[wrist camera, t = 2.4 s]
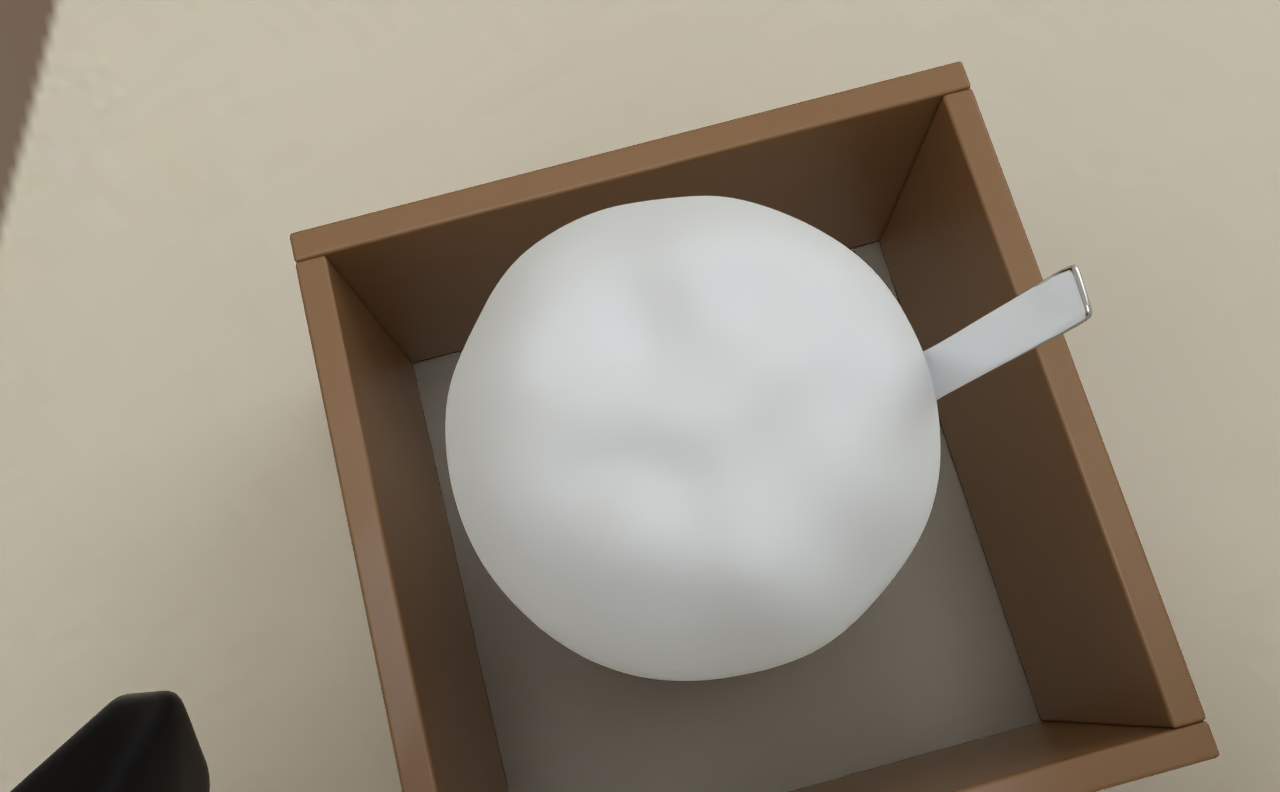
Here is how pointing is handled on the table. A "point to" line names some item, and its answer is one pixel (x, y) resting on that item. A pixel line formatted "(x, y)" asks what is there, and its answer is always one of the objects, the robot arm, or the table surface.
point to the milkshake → (707, 432)
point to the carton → (970, 416)
